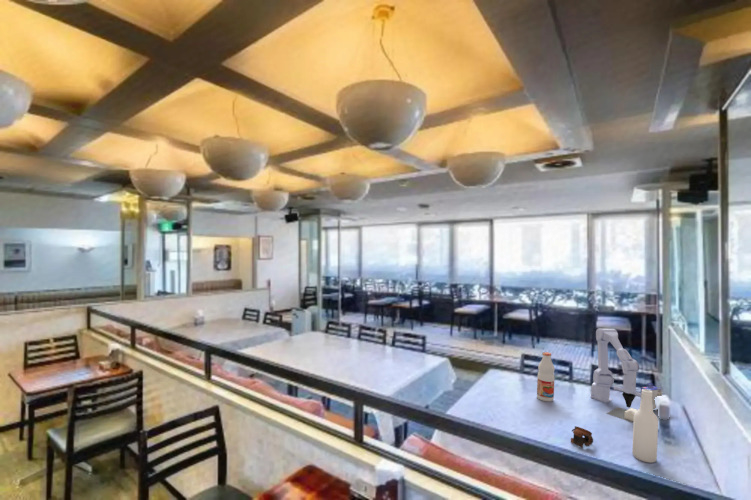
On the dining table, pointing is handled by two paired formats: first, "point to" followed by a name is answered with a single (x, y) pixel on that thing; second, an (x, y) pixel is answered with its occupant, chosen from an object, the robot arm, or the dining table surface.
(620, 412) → the mat
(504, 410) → the dining table surface
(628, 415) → the sign slab
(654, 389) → the ink cartridge box
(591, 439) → the pottery mug
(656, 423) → the alcohol
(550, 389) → the fruit juice
